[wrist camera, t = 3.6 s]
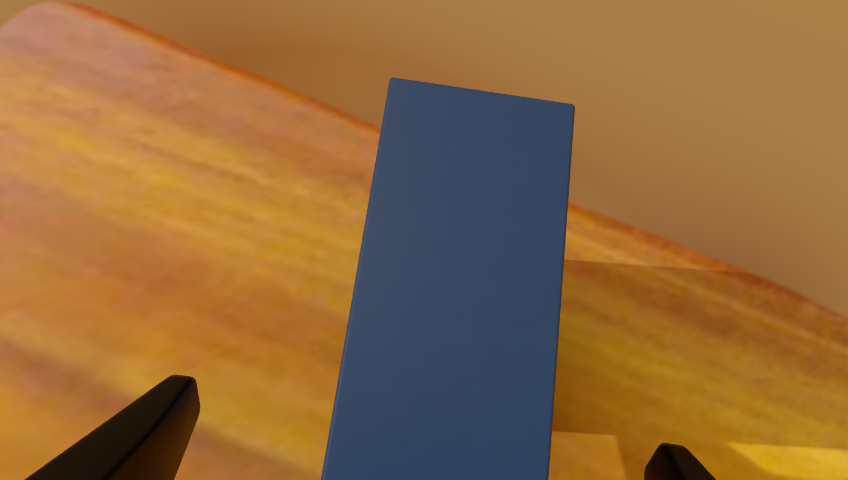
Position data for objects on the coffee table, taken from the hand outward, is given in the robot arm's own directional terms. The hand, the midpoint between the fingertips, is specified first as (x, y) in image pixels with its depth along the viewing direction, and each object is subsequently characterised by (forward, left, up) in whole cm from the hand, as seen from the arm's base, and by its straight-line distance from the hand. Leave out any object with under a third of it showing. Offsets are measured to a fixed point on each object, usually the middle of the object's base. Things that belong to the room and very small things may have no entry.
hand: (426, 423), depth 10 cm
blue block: (+1, -2, -9) cm, 10 cm away
